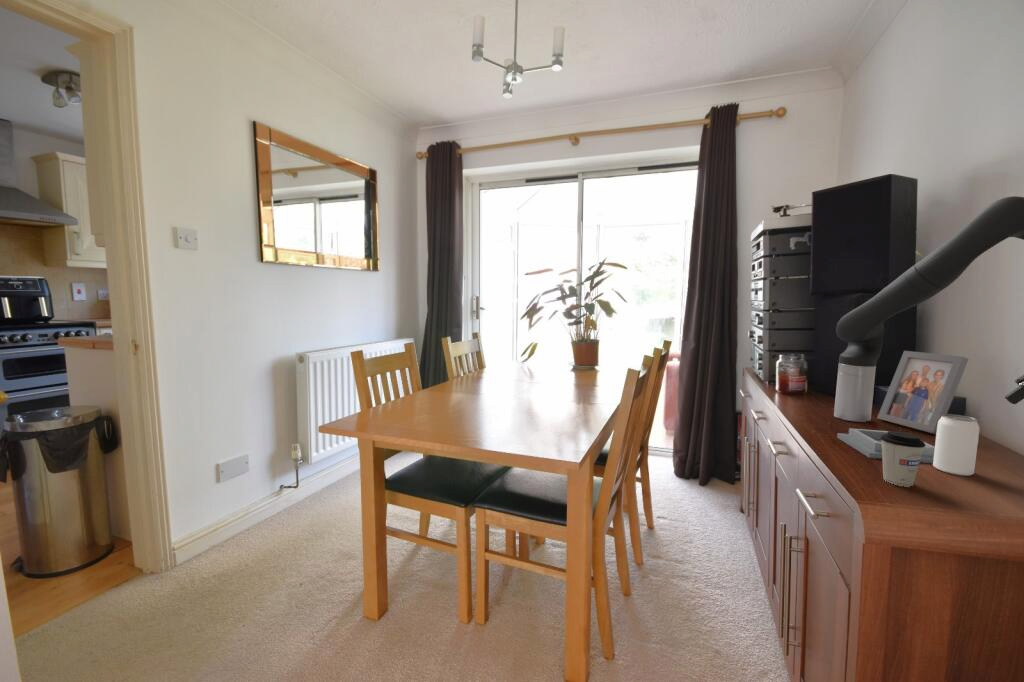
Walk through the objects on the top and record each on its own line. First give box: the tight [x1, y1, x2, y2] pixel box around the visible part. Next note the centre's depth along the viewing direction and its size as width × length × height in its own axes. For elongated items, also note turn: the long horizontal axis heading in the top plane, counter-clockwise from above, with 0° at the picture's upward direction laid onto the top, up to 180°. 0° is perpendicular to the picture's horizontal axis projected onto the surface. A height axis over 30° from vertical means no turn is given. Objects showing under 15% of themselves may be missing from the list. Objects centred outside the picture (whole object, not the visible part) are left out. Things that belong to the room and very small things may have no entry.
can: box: [932, 413, 980, 477], centre depth 98 cm, size 6×6×12 cm
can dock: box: [836, 427, 935, 464], centre depth 111 cm, size 16×16×3 cm
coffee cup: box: [880, 430, 926, 488], centre depth 91 cm, size 7×7×10 cm
